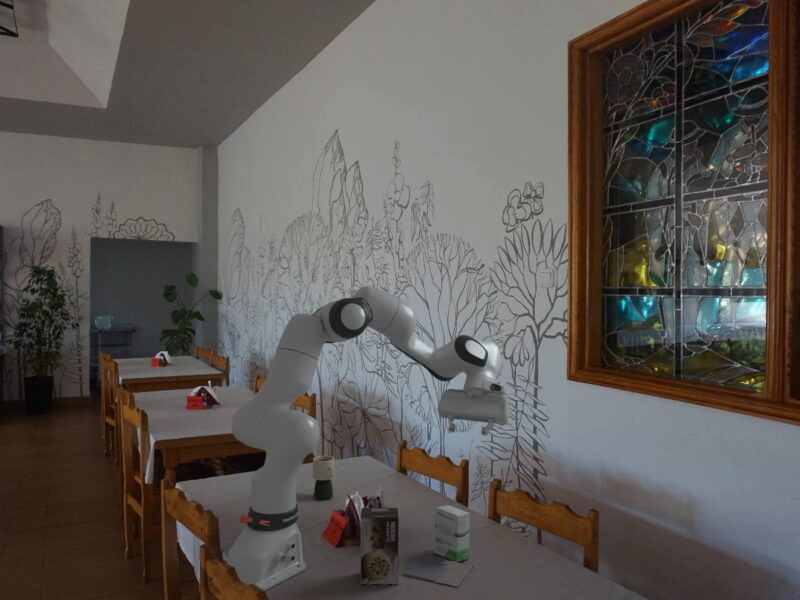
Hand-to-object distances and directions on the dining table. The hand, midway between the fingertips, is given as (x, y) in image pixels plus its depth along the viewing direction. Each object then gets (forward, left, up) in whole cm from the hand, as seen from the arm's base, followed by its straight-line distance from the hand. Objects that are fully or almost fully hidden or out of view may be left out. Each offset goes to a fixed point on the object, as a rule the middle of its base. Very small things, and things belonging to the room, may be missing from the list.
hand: (467, 432), depth 173 cm
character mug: (+10, +52, -30) cm, 61 cm away
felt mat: (-22, 0, -30) cm, 37 cm away
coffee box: (-32, +11, -30) cm, 45 cm away
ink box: (-13, 0, -30) cm, 32 cm away
